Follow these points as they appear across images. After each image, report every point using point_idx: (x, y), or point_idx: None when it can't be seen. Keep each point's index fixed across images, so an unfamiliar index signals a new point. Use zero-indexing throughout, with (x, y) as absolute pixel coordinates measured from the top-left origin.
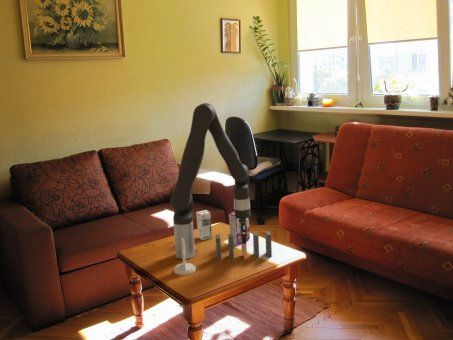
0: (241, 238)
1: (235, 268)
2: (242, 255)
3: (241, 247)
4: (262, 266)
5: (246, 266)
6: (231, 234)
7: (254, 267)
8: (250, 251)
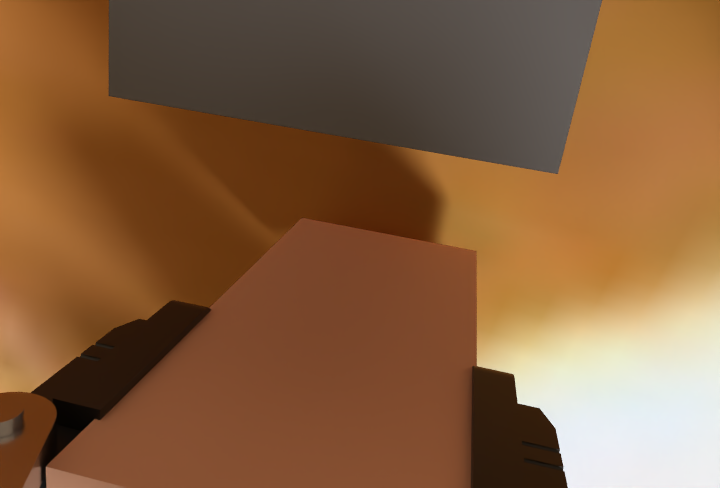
0: (293, 376)
1: (5, 8)
2: (321, 222)
3: (445, 279)
4: (26, 361)
5: (49, 180)
6: (450, 115)
7: (9, 266)
8: (538, 392)
